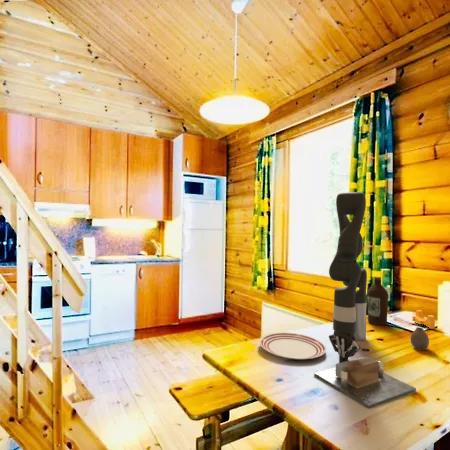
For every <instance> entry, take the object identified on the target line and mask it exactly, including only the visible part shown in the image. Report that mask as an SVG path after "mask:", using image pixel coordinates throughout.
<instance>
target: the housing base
mask: <svg viewBox="0 0 450 450" xmlns="http://www.w3.org/2000/svg"><path fill="white" fill-rule="evenodd" d="M377 361H378V380H375V381H371V382H368V383H364V384H361V385H358V386H356V385H355V384H353V383H351V382H349V381H348V372H347V371H345V370H342V371H341V378H339V377H337V376H336V366H335V367H331V368H326V369H323V370H320V371H317V372H314V373H313V376H314V377H315V378H317V379H318V380H320V381H322V382H323V383H325V384H327V385H329V386H330V387H332V388H334V389H335V390H337V391H338V392H341V394H343V395H345V396H347V397H348V398H350V399H352V400H354V401H355V402H356V403H358V404H360V405H362V406H363V407H365V408H366V409H368V410H369V409H372V408H375V407H377V406H380V405H382V404H385V403H388V402H392V401H394V400H397V399H400V398H402V397H405V396H407V395H410V394H413V393H416V392H417V388H416V387H415V386H413V385H410V384H408V383H406V382H405V381H401V380H399V379H398V378H395V377H393V376H391V375H389V374H387V373H384V362H383V361H382V360H377Z"/></svg>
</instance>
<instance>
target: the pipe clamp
mask: <svg viewBox="0 0 450 450" xmlns="http://www.w3.org/2000/svg"><path fill="white" fill-rule="evenodd" d="M423 312H424V311H423V310H421V309H418V310H417V309H415V315H412V322H413V321H415V322H417V323H419V324H424V325H426V326H428V327H429V328H430V330H431V329H432V330H434V329H436V327H435V325H436V315H435V316H434V315H432V314H430V315H429V314H428V315H427V317H426V318H425V316H424V313H423ZM429 328H428V329H429Z"/></svg>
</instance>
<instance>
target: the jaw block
mask: <svg viewBox="0 0 450 450" xmlns="http://www.w3.org/2000/svg"><path fill="white" fill-rule="evenodd" d="M352 360H353V359H352ZM348 361H349V360H348ZM378 361H379V360H376V359H375V358H372V357H370V356H366V357H363V358H362V359H358V360H353V361H349V362H347V372H348V381H349V382H351V383H353V384H355V385H356V386H358V385H361V384H364V383H368V382H371V381H375V380H378Z"/></svg>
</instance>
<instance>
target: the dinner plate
mask: <svg viewBox="0 0 450 450" xmlns="http://www.w3.org/2000/svg"><path fill="white" fill-rule="evenodd" d="M259 340H260V341H259V344H260V346H261V348H263V350H265V351H266V352H267V353H269V354H271V355H274V356H277V357H280V358H282V359H287V360H288V359H289V360H297V361H298V360H299V361H300V360H301V361H302V360H311V359H317V358H319V357H321V356H323V355H325V354H326V352H327V346H326V345H325V344H324V343H323V342H321V341H320V340H319V339H316V338H314V337H312V336H308V335H305V334H300V333H295V332H274V333H269V334H267V335H265V336H262V337H261V338H260V339H259Z"/></svg>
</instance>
